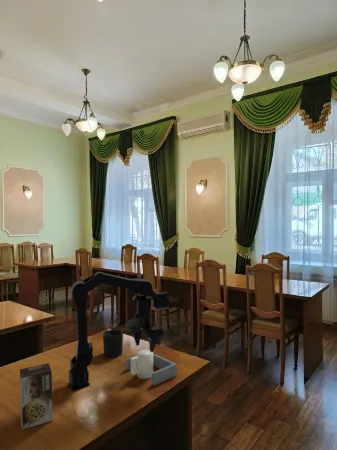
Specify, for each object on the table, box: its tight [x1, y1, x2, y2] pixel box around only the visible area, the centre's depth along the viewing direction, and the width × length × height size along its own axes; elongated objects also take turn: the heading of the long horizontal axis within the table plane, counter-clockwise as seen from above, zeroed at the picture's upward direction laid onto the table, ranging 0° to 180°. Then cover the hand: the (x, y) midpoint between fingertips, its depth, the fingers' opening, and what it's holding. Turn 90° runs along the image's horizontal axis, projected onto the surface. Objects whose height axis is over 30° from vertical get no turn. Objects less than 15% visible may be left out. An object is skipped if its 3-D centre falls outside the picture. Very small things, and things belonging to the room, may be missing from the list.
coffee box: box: [19, 363, 54, 430], centre depth 102 cm, size 9×6×16 cm
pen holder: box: [102, 329, 124, 358], centre depth 153 cm, size 9×9×10 cm
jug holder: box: [125, 352, 178, 386], centre depth 134 cm, size 12×18×4 cm, turn 43°
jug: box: [130, 349, 154, 380], centre depth 131 cm, size 10×7×9 cm
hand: (144, 348), depth 132 cm, fingers open, 9 cm apart
